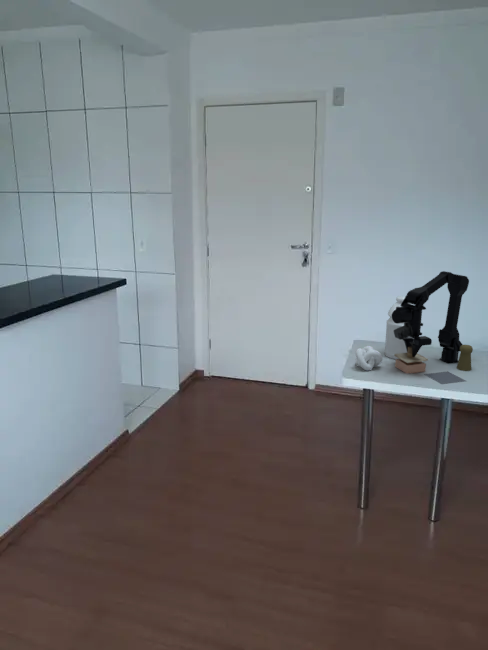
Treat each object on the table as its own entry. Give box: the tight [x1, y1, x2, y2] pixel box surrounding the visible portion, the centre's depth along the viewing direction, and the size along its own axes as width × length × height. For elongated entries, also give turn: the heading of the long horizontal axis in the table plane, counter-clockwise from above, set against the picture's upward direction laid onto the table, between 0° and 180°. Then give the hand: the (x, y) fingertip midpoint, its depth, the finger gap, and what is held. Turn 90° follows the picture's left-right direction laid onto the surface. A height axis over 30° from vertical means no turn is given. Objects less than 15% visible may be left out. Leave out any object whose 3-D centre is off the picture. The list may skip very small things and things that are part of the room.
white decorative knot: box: [355, 345, 383, 372], centre depth 228 cm, size 11×12×9 cm
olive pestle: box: [456, 344, 474, 372], centre depth 225 cm, size 6×6×11 cm
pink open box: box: [394, 359, 427, 375], centre depth 225 cm, size 9×9×4 cm
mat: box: [423, 371, 467, 385], centre depth 216 cm, size 12×12×1 cm
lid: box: [394, 346, 429, 363], centre depth 224 cm, size 10×10×5 cm
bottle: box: [384, 295, 413, 360], centre depth 242 cm, size 14×14×28 cm
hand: (411, 355), depth 224 cm, fingers closed on lid, 3 cm apart
